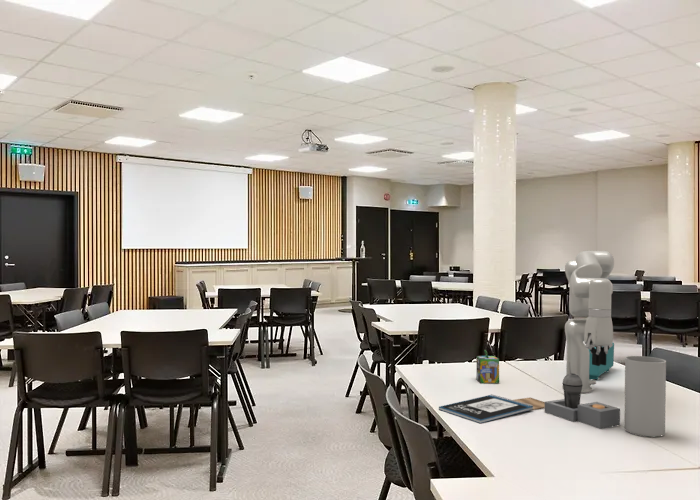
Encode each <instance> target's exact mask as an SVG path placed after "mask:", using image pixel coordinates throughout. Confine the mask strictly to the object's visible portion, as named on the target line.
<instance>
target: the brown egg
mask: <svg viewBox="0 0 700 500" xmlns="http://www.w3.org/2000/svg"><path fill="white" fill-rule="evenodd" d="M593 407H594V408H597V409H603V408H605V406H603V405H599V404H594V405H593Z"/></svg>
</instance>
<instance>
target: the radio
mask: <svg viewBox="0 0 700 500" xmlns="http://www.w3.org/2000/svg"><path fill="white" fill-rule="evenodd" d="M612 344H613V346H612V347H610V348H609V350H608V353H607V354H606V365H601V364H600V366H596V365H592V354H591V351H590V350H589V380H590V379H597V380H598V379H599V377H600V376H601V375H603V374H604V373H605V371H610V369H611V368H613V367H614V361H615V360H614V359H615V358H614V357H615V353H614V352H615V343H614V342H613V343H612ZM594 348H595V349H596V347H594ZM599 353H600V352H599Z"/></svg>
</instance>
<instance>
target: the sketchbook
mask: <svg viewBox="0 0 700 500" xmlns="http://www.w3.org/2000/svg"><path fill="white" fill-rule="evenodd" d="M512 400H513V401H512ZM518 402H519V401H515V399H511V398H506V397H503V396H500V395H496V394H492V393H491V394H488V395H484V396H480V397H475V398H470V399H467V400H463V401H458V402H454V403H450V404H444V405H440V406H438V410H439V411H442V412H445V413H448V414H451V415H454V416H456V417H460V418H463V419H465V420H469V421H472V422H475V423H478V424H483V423H487V422H490V421H494V420H498V419H502V418H506V417H510V416H513V415H516V414H517V415H518V414H520V413H526V412H529V410H531V411H533V410H532V409H533V405H529V404H527V405H526V403H522V402H520V403H518Z"/></svg>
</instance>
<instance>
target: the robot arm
mask: <svg viewBox="0 0 700 500" xmlns="http://www.w3.org/2000/svg"><path fill="white" fill-rule="evenodd" d="M614 267H615V259H614V256H613V254H612V253H611V252H610V251H608V250H583V251H579V252H578V253H577V255H576V256H575V259H571V260H568V261H566V263H565V265H564V273H565V277H566V279H567V282H568V284H569V297H568V299H569V302H568V311H569V314H570V315H571V316H573V317H578V318H572V319H571V318H570V319H568V320H567V321H566V322H565V324H564V333H565V341H566V366H565V367H566V375H567V374H570V369H569V362H570V365H571V373H573V374H576V375H578V376H579V377H580V378H581V380H582V385H583V386H582V391H581V394H587V393H589V392H590V393H592V392H593V387H591V386H593V385H596V384H597V380H590V379H589V350H590V351H591V354H592V365H596V366H600V364H601V365H606V354H607V353H608V350H609V348H610V347H612V346H613V344H612V343H614V342H613V341H614V326H613V321H612V294H613V292H614V285H613V283H612V282H611V280H610V279H608V278H609V277H610V275H611V273H612V272H613V270H614ZM583 318H584V319H583ZM594 347H596V349H595V348H594ZM599 352H600V353H599ZM566 375H565V376H566ZM590 393H589V394H590Z"/></svg>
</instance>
